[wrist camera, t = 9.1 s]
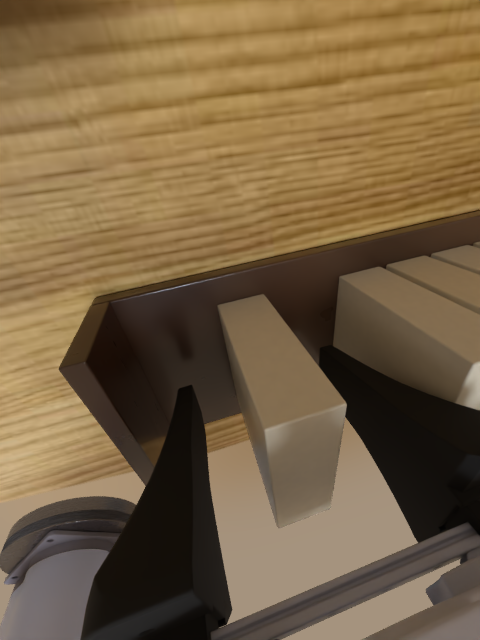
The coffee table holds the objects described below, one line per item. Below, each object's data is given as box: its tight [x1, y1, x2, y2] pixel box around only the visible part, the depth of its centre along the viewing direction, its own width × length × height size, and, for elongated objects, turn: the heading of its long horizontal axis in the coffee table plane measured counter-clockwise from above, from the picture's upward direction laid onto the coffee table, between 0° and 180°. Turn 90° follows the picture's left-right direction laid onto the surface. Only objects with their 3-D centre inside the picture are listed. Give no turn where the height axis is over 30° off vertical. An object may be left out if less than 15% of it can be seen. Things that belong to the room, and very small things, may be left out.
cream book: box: [218, 294, 347, 528], centre depth 11 cm, size 2×7×7 cm, turn 8°
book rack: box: [59, 211, 480, 486], centre depth 14 cm, size 26×10×5 cm, turn 98°
